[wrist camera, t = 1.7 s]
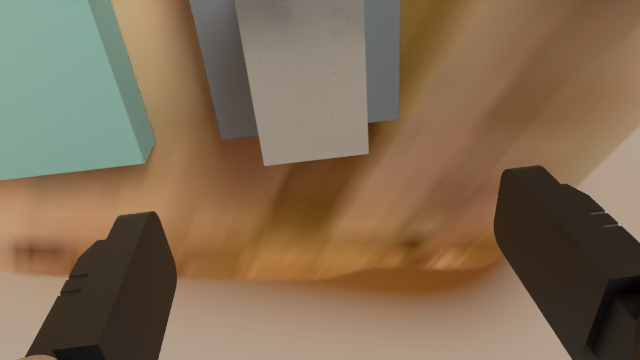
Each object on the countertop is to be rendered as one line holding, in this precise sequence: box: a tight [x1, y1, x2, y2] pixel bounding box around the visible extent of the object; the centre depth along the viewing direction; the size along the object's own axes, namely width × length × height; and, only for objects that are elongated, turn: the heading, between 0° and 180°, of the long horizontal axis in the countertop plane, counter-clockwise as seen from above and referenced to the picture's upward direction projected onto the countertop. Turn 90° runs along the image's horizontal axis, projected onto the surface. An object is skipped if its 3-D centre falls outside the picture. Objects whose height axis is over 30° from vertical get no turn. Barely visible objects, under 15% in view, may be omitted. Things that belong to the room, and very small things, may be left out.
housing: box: [234, 0, 369, 166], centre depth 22 cm, size 8×5×6 cm, turn 5°
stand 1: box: [0, 0, 156, 180], centre depth 26 cm, size 11×11×3 cm
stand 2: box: [189, 0, 400, 140], centre depth 26 cm, size 11×11×3 cm
